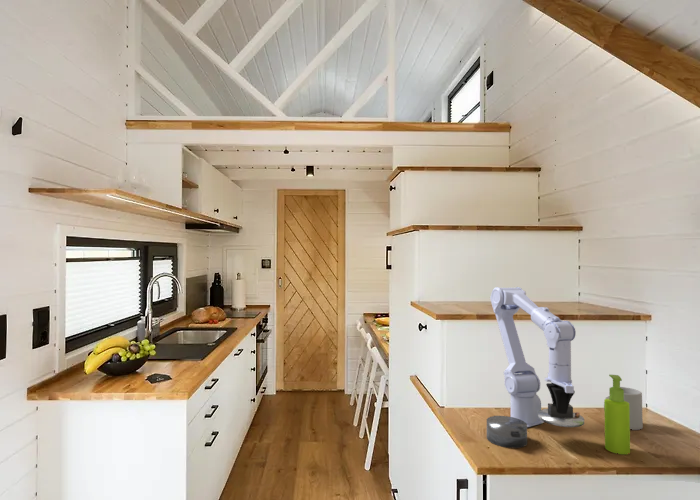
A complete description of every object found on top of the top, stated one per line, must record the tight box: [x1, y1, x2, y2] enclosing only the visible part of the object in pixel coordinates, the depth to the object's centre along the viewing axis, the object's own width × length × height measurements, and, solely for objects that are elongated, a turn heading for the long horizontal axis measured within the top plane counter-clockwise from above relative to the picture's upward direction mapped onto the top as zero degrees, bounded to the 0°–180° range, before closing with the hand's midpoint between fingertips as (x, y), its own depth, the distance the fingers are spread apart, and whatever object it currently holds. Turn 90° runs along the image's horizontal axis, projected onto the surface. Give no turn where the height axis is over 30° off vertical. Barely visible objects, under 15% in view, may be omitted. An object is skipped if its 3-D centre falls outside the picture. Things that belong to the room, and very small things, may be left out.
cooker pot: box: [486, 415, 528, 449], centre depth 123 cm, size 14×11×5 cm
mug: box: [605, 386, 644, 431], centre depth 135 cm, size 12×8×11 cm
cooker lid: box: [538, 403, 585, 428], centre depth 121 cm, size 12×12×4 cm
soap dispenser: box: [603, 374, 631, 455], centre depth 118 cm, size 6×7×20 cm
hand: (560, 411), depth 121 cm, fingers closed on cooker lid, 2 cm apart
